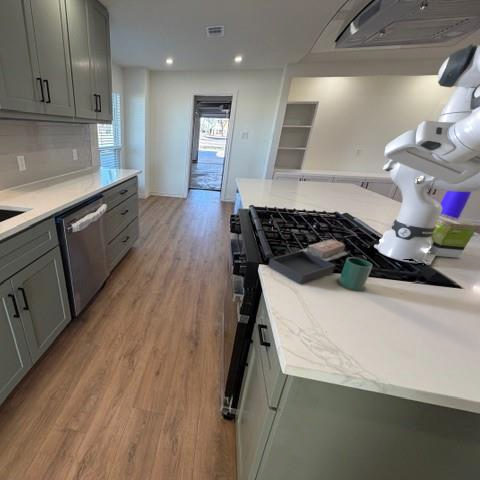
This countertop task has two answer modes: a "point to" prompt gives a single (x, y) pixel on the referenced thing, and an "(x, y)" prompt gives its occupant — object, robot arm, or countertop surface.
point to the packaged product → (327, 250)
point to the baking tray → (301, 266)
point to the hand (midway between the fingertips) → (401, 175)
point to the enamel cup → (355, 273)
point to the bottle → (454, 203)
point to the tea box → (451, 236)
